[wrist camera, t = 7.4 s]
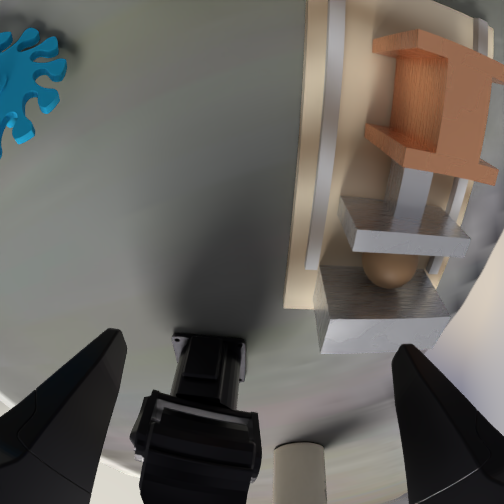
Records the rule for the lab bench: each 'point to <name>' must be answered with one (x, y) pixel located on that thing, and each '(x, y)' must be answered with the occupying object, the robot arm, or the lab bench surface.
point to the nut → (389, 268)
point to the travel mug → (299, 474)
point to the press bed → (358, 127)
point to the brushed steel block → (375, 312)
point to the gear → (26, 80)
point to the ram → (425, 145)
